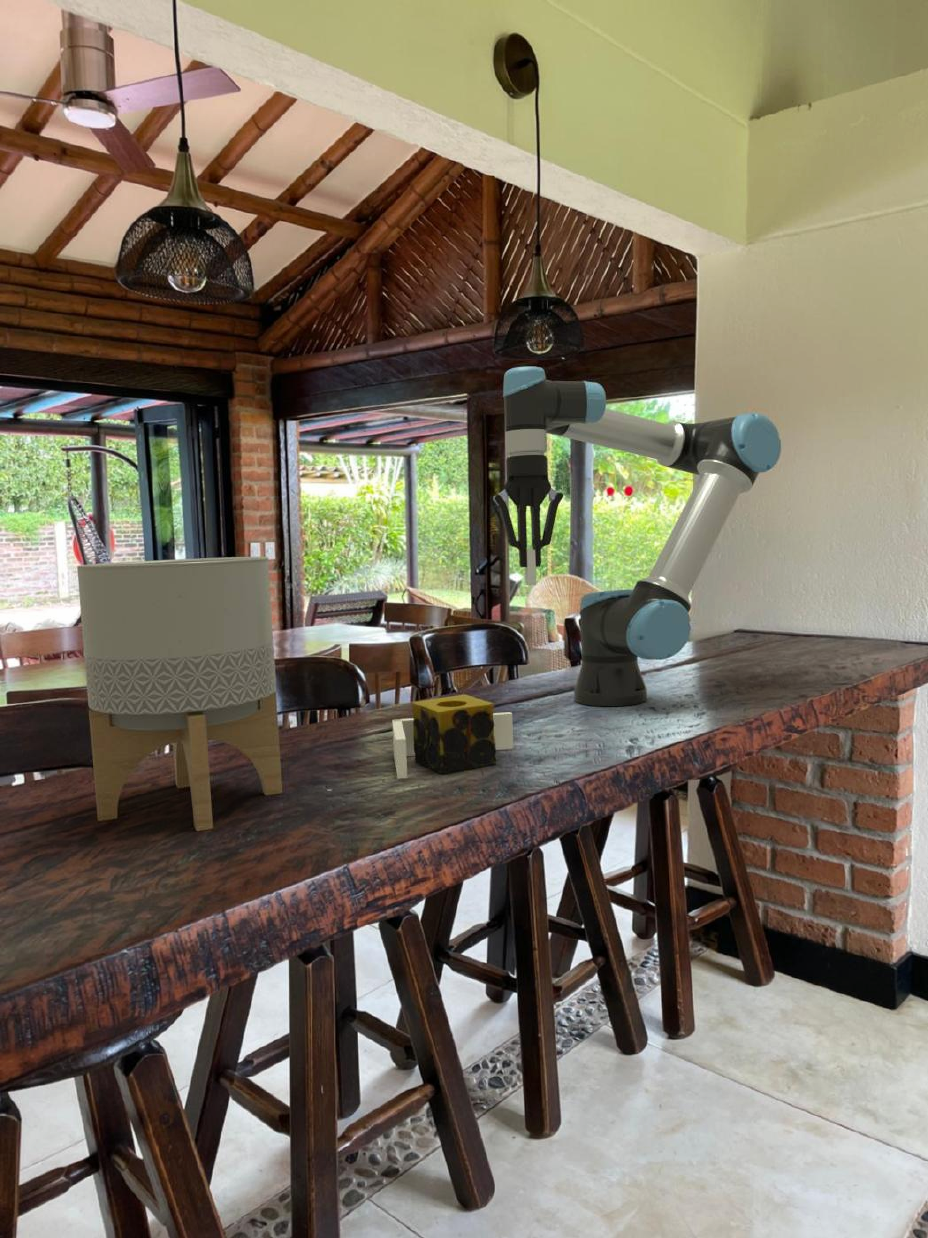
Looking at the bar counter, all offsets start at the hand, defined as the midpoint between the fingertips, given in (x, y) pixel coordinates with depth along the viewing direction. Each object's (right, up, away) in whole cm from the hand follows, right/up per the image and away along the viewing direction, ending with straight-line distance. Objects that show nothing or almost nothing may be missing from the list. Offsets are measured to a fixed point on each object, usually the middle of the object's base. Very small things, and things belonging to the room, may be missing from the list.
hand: (530, 584), depth 166 cm
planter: (-50, -33, -39) cm, 72 cm away
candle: (-14, -30, -22) cm, 39 cm away
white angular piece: (-13, -29, -22) cm, 39 cm away
